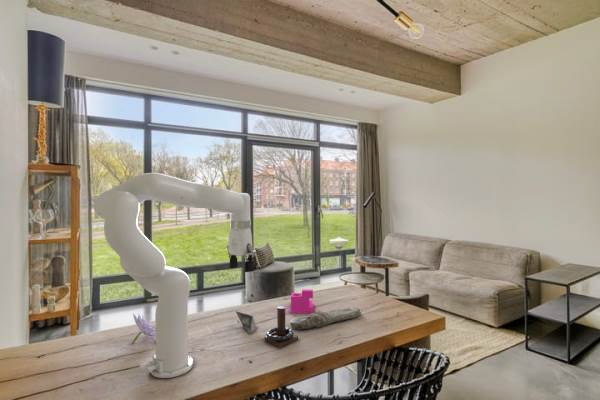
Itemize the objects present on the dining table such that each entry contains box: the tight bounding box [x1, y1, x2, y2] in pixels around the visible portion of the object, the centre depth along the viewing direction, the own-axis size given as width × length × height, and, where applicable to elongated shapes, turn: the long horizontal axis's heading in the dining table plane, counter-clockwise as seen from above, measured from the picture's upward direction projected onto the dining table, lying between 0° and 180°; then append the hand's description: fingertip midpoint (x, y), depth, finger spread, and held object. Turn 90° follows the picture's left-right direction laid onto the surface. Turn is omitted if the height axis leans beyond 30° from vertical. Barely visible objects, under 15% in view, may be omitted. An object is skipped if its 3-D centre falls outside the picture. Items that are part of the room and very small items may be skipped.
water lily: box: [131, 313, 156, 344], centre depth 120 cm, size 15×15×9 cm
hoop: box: [265, 326, 295, 341], centre depth 121 cm, size 10×10×2 cm
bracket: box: [290, 288, 314, 314], centre depth 155 cm, size 12×10×10 cm
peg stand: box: [264, 305, 299, 349], centre depth 121 cm, size 9×9×12 cm
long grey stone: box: [289, 307, 362, 330], centre depth 138 cm, size 35×5×10 cm
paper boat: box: [235, 311, 257, 335], centre depth 131 cm, size 12×6×9 cm
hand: (240, 269), depth 123 cm, fingers open, 9 cm apart
